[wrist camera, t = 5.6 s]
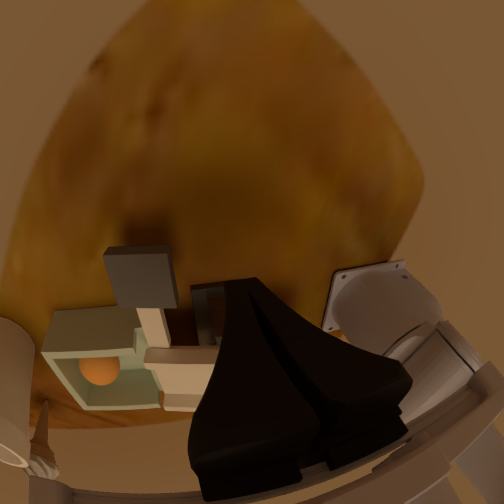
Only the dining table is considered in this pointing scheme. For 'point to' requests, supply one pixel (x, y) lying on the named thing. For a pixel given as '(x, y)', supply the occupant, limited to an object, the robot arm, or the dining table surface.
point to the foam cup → (15, 392)
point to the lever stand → (209, 312)
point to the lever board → (160, 321)
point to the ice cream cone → (42, 450)
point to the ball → (100, 369)
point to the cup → (102, 345)
